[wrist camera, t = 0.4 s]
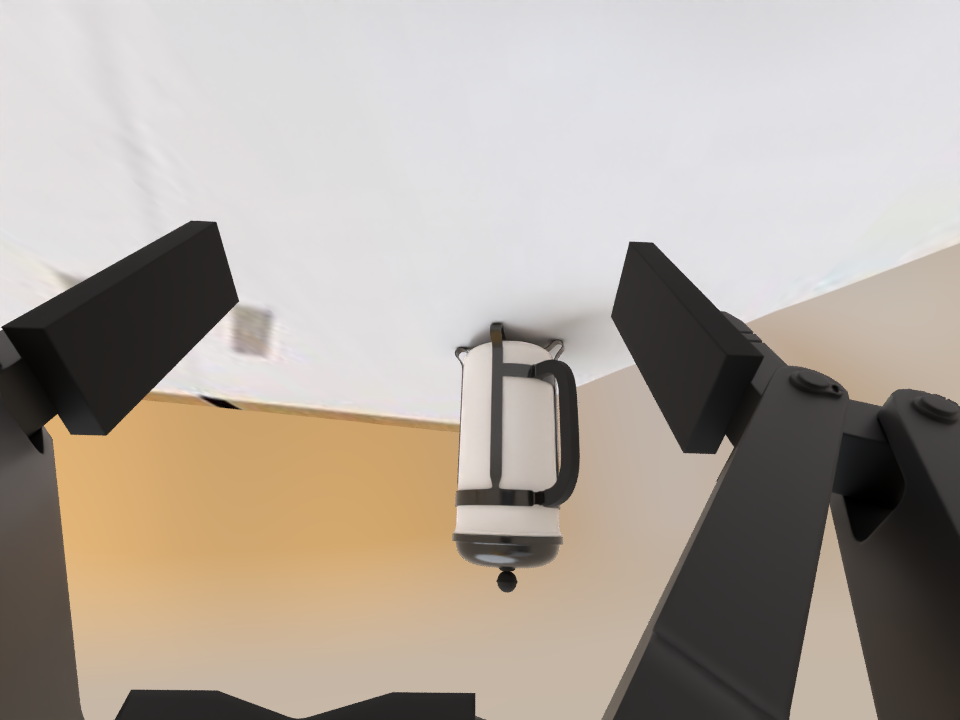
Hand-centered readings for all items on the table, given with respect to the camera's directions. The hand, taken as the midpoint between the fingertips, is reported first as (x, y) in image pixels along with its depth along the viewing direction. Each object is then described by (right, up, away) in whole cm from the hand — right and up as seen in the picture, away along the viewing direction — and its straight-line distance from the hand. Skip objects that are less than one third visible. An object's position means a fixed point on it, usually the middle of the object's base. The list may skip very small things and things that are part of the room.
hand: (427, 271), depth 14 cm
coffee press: (+6, 0, +44) cm, 44 cm away
